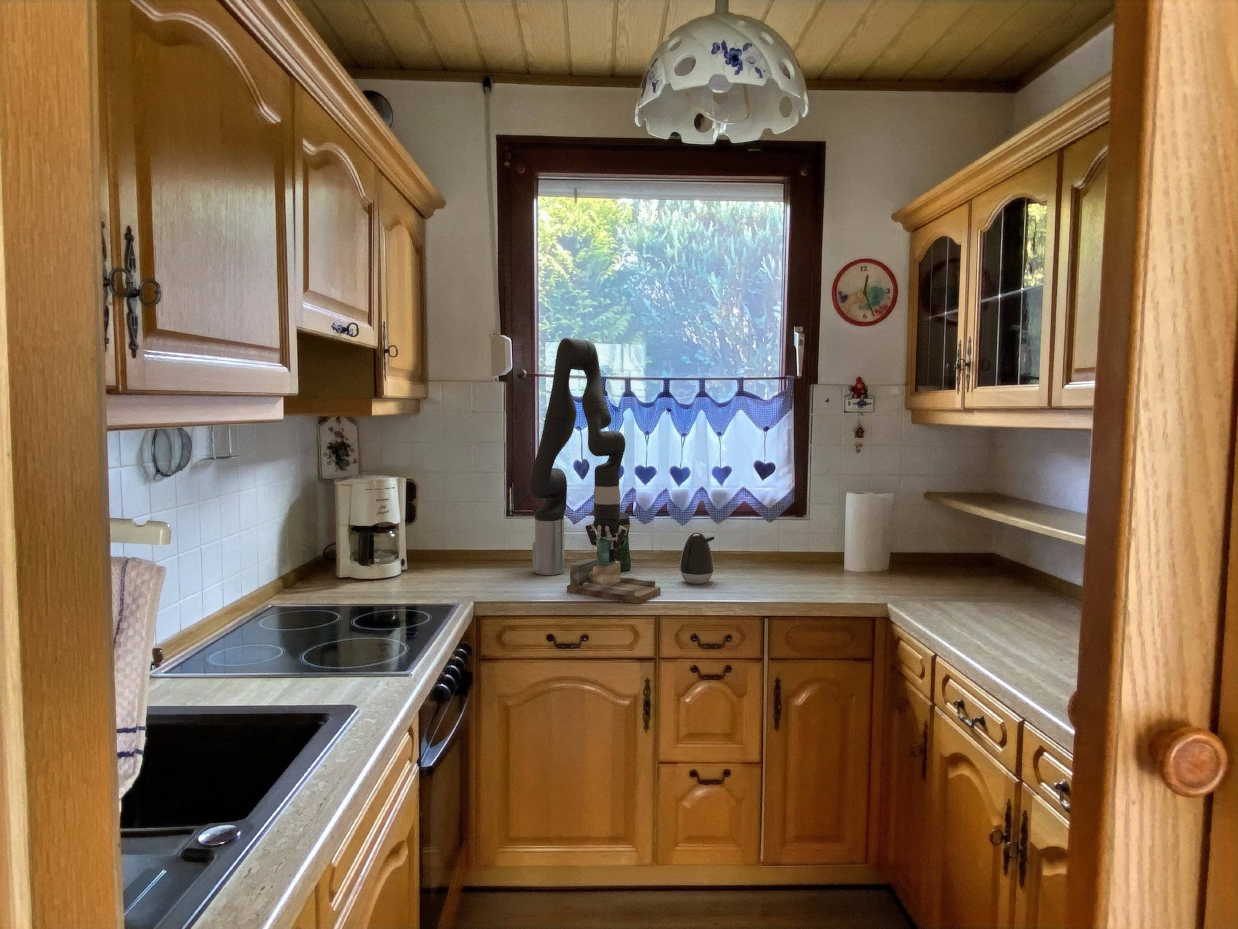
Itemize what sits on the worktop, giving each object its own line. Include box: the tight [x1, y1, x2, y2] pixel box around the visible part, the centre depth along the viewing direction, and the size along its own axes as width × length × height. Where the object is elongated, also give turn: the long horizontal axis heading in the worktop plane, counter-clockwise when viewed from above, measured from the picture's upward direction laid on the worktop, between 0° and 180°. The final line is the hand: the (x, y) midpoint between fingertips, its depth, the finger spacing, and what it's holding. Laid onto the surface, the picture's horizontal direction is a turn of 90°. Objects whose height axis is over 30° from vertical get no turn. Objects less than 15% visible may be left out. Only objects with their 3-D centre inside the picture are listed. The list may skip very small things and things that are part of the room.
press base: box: [566, 557, 662, 605], centre depth 220 cm, size 24×13×8 cm, turn 59°
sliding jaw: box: [593, 538, 621, 586], centre depth 221 cm, size 3×10×13 cm, turn 149°
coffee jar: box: [606, 512, 632, 572], centre depth 250 cm, size 10×8×19 cm
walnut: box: [588, 571, 593, 581], centre depth 223 cm, size 4×4×4 cm
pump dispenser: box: [679, 532, 715, 585], centre depth 233 cm, size 10×10×15 cm
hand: (606, 560), depth 221 cm, fingers closed on sliding jaw, 3 cm apart
